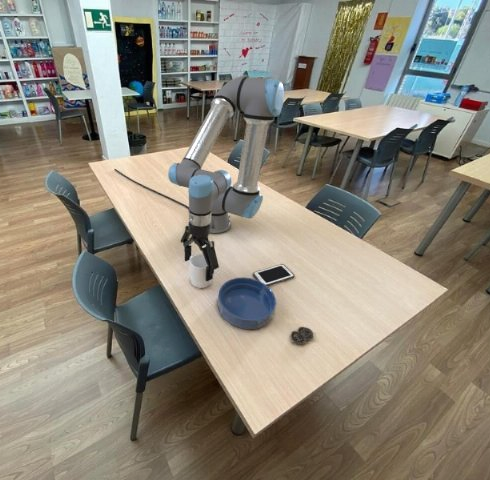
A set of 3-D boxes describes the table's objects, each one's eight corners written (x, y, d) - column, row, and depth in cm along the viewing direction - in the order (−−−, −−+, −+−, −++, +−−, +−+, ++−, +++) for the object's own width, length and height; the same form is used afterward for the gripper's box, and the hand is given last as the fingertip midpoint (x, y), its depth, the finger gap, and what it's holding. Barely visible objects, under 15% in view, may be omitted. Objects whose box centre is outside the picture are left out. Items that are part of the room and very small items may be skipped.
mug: (181, 272, 112) (181, 252, 106) (199, 265, 116) (199, 245, 109) (197, 291, 104) (198, 271, 98) (215, 283, 107) (217, 263, 101)
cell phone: (252, 274, 111) (252, 272, 111) (282, 265, 116) (283, 263, 115) (263, 287, 106) (263, 285, 105) (294, 277, 110) (295, 275, 110)
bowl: (206, 301, 100) (207, 291, 97) (245, 280, 109) (247, 270, 106) (244, 340, 87) (246, 330, 84) (285, 312, 96) (288, 302, 93)
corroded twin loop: (286, 336, 89) (286, 333, 88) (304, 326, 92) (305, 323, 91) (297, 348, 85) (298, 346, 84) (316, 337, 88) (317, 335, 88)
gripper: (170, 209, 101) (172, 255, 113) (214, 243, 84) (210, 293, 97) (187, 204, 104) (187, 249, 117) (233, 235, 88) (227, 284, 100)
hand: (198, 269), depth 107 cm, fingers open, 13 cm apart
